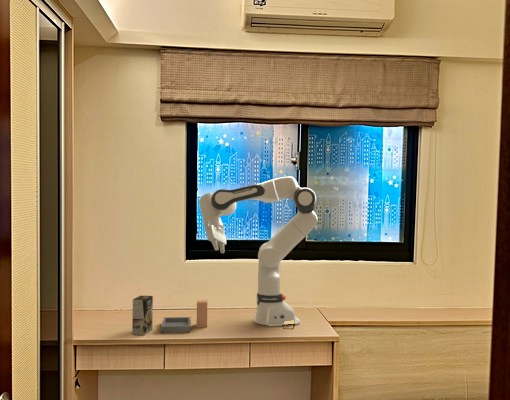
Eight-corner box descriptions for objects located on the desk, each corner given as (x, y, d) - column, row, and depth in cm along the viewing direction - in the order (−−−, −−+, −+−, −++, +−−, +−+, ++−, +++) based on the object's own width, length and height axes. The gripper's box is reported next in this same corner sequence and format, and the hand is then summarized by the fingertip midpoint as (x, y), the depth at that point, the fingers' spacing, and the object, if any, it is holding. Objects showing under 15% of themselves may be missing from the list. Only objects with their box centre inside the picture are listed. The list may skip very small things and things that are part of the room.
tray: (190, 323, 255) (190, 317, 255) (189, 332, 239) (189, 326, 239) (163, 323, 254) (163, 317, 254) (161, 333, 238) (161, 326, 238)
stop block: (207, 324, 254) (207, 299, 253) (207, 327, 249) (207, 302, 248) (196, 324, 253) (196, 300, 253) (196, 327, 248) (196, 302, 248)
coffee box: (145, 335, 234) (145, 299, 234) (131, 334, 235) (131, 299, 235) (153, 329, 243) (153, 295, 242) (140, 328, 244) (140, 294, 244)
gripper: (212, 218, 249) (219, 246, 245) (225, 226, 268) (231, 252, 264) (200, 222, 250) (206, 250, 246) (214, 230, 269) (220, 256, 265)
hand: (219, 251), depth 255 cm, fingers open, 8 cm apart
